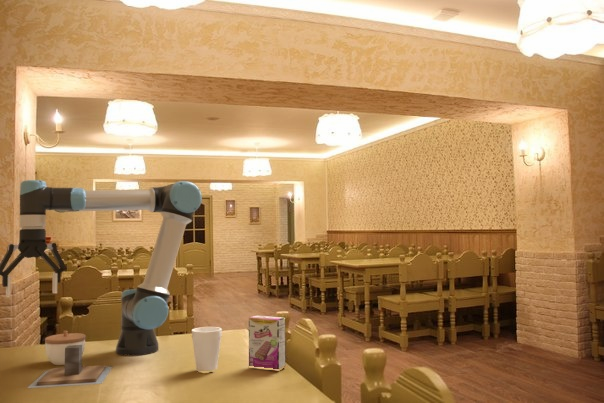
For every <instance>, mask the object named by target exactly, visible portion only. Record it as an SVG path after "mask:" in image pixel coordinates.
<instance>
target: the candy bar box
mask: <svg viewBox="0 0 604 403" xmlns="http://www.w3.org/2000/svg"><path fill="white" fill-rule="evenodd" d="M249 366H254V367H264V368H273V369H280V368H282V367H283V366H285V367H286V318H285V317H280V316H279V317H278V316H269V315H268V316H267V315H252V316H250V317H248V367H249Z"/></svg>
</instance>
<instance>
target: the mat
mask: <svg viewBox="0 0 604 403" xmlns="http://www.w3.org/2000/svg"><path fill="white" fill-rule="evenodd" d="M113 368H114V366H106V367H105V370H104V371H103V373H102V374H101V375H100V377H99V378H98V380H97V381H96V382H88V383H72V384H56V385H40V386H37V382H38V381H39V380H40V379H41V378H42V377H43V376H44V375H45V374H46V373H48V372H49V371H50V370H51V369H46V371H44V372H43V373H42V374H40V376H39V377H38V378H37V379H36V380H34V381H33V382H31V384H29V385H28V387H27V389H36V388H37V389H38V388H54V387H68V386H83V385H84V386H85V385H86V386H87V385H100V384H103V383H104V381H105V380H106V378H107V376H108V375H109V374H110V372H111V370H112V369H113Z"/></svg>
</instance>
